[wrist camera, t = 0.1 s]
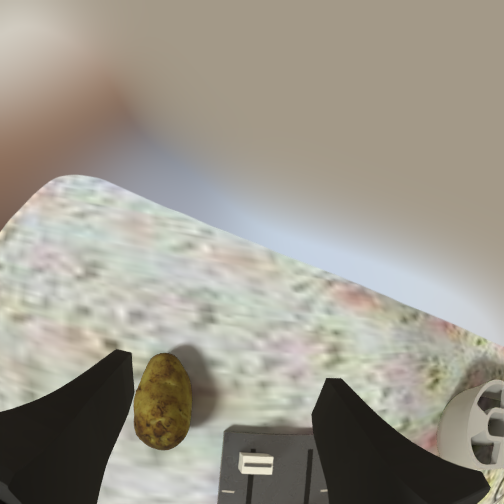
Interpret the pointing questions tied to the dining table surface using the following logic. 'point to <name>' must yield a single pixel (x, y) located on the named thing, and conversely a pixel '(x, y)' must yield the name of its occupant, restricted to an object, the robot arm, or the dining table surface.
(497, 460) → the grey compartment organizer
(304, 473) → the console
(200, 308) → the dining table surface
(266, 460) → the fader
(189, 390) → the potato
